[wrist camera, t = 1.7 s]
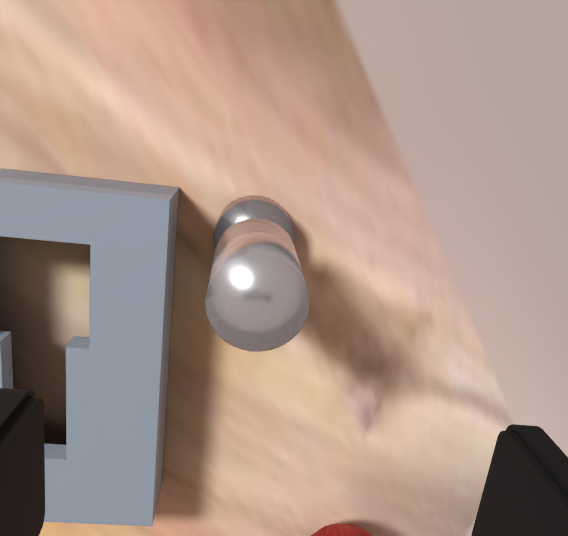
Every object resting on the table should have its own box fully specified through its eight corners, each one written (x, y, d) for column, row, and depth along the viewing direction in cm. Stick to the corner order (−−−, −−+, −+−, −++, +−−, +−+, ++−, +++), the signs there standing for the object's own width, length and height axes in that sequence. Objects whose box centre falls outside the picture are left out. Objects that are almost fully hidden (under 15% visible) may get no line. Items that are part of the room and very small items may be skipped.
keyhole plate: (-73, 160, 26) (-120, 170, 22) (179, 187, 27) (169, 199, 24) (-48, 472, 31) (-82, 516, 28) (161, 483, 32) (152, 526, 29)
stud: (219, 191, 27) (203, 243, 18) (297, 199, 27) (322, 254, 18) (212, 266, 28) (195, 352, 19) (287, 273, 29) (307, 360, 19)
